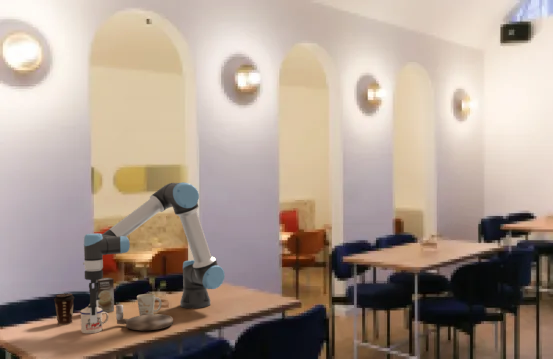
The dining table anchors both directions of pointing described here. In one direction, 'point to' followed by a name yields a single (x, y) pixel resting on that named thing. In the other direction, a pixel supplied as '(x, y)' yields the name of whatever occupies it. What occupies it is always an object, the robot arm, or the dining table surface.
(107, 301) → the coffee box
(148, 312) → the mug
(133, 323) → the turntable
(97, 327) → the teacup with lid
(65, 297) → the coffee cup
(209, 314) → the dining table surface
